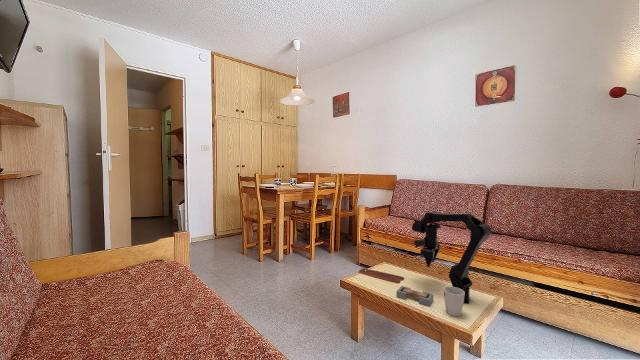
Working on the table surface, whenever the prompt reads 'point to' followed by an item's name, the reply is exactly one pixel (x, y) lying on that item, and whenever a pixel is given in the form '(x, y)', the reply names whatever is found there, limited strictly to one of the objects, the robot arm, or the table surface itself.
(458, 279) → the robot arm
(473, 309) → the table surface
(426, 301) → the end cap
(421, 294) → the slat
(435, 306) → the table surface
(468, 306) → the table surface
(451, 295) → the cup
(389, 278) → the wooden tablet
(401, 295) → the end cap
